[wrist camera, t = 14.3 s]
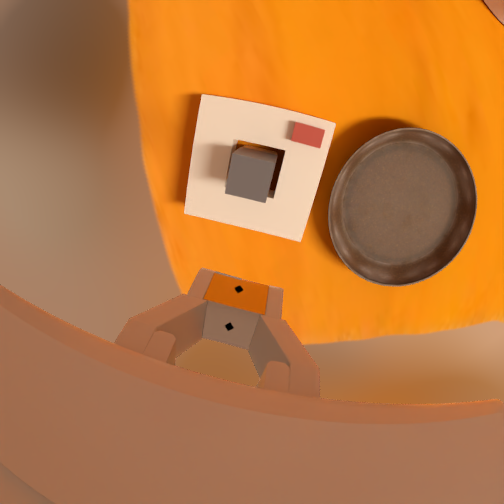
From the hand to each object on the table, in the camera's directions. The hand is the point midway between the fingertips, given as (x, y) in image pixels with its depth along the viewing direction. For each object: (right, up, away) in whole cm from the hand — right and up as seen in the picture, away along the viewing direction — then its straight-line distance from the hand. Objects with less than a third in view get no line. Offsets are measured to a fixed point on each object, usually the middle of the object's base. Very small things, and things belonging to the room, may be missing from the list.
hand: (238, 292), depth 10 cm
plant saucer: (+20, +7, +21) cm, 30 cm away
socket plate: (+1, +12, +21) cm, 24 cm away
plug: (+1, +12, +21) cm, 24 cm away
